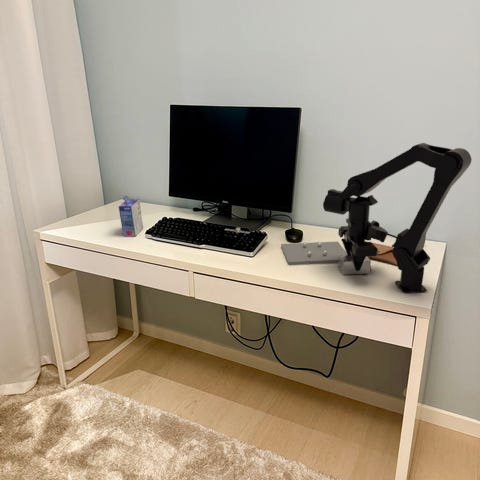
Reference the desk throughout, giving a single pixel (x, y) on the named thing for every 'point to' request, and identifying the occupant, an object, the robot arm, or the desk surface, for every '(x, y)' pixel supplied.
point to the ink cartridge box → (131, 217)
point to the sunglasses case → (384, 255)
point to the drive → (348, 265)
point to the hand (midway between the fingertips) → (354, 267)
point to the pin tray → (312, 252)
